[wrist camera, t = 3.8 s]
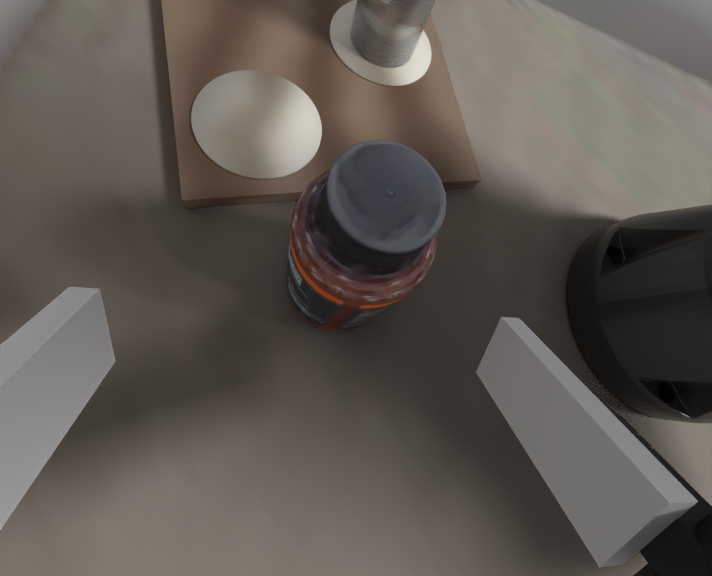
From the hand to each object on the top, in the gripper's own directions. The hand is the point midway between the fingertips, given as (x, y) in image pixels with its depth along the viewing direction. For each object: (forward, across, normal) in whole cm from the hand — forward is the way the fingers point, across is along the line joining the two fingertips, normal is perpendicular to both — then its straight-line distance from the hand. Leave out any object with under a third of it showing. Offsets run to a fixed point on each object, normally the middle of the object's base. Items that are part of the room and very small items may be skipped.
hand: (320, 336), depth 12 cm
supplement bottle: (+9, +2, -3) cm, 10 cm away
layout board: (+19, 0, +7) cm, 20 cm away
